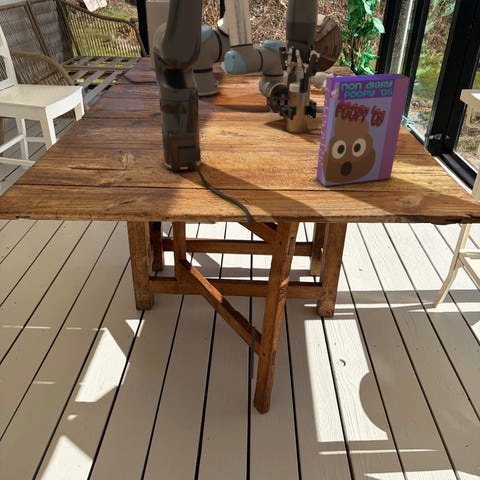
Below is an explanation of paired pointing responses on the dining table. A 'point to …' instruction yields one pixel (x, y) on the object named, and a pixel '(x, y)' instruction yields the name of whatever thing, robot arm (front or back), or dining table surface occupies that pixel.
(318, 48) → the sphere
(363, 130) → the cereal box
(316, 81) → the toy
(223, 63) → the disc drive
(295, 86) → the cap
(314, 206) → the dining table surface
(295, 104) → the bottle
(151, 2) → the tall grey upright box
